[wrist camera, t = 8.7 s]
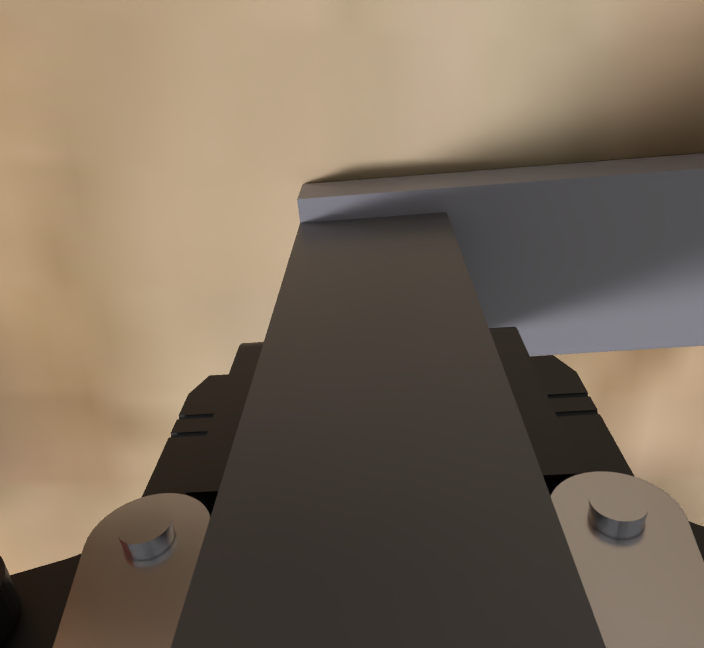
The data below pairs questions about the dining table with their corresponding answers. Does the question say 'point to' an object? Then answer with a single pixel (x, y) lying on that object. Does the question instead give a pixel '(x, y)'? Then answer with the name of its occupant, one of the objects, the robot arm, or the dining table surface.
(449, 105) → the dining table surface
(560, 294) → the grey l-shaped bracket
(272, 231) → the dining table surface
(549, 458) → the robot arm
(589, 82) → the dining table surface
